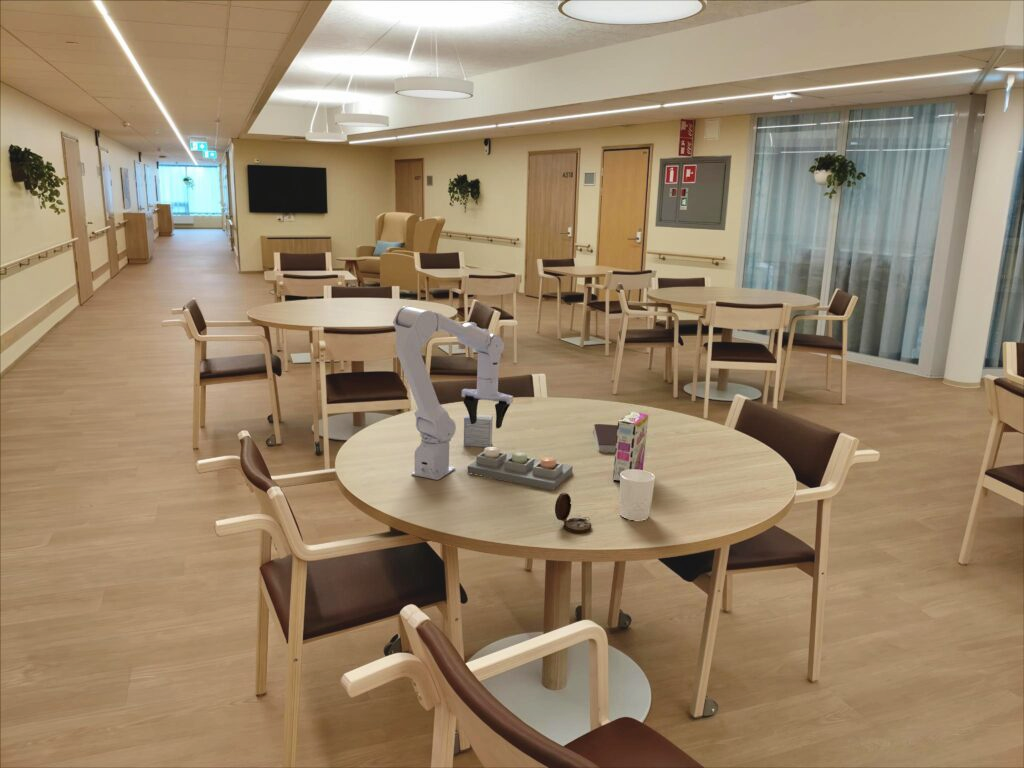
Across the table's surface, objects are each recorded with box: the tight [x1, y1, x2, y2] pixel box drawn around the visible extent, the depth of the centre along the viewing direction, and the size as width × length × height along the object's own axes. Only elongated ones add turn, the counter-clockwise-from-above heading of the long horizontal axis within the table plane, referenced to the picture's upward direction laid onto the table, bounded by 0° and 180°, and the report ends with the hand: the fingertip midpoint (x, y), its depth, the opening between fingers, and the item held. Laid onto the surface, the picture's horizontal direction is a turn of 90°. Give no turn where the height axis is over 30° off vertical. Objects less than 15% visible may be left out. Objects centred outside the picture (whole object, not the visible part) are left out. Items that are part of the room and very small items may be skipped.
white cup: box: [619, 469, 656, 520], centre depth 172 cm, size 8×8×10 cm
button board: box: [467, 451, 574, 491], centre depth 197 cm, size 14×24×4 cm, turn 66°
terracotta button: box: [539, 456, 557, 470], centre depth 192 cm, size 4×4×2 cm
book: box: [592, 423, 618, 453], centre depth 225 cm, size 12×19×3 cm, turn 178°
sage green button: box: [511, 451, 528, 464], centre depth 195 cm, size 4×4×2 cm
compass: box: [554, 492, 593, 534], centre depth 166 cm, size 8×8×7 cm
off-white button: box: [483, 446, 500, 459], centre depth 198 cm, size 4×4×2 cm
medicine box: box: [463, 413, 493, 448], centre depth 217 cm, size 8×4×9 cm, turn 84°
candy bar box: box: [612, 411, 649, 481], centre depth 196 cm, size 11×5×16 cm, turn 152°
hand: (486, 425), depth 206 cm, fingers open, 7 cm apart
